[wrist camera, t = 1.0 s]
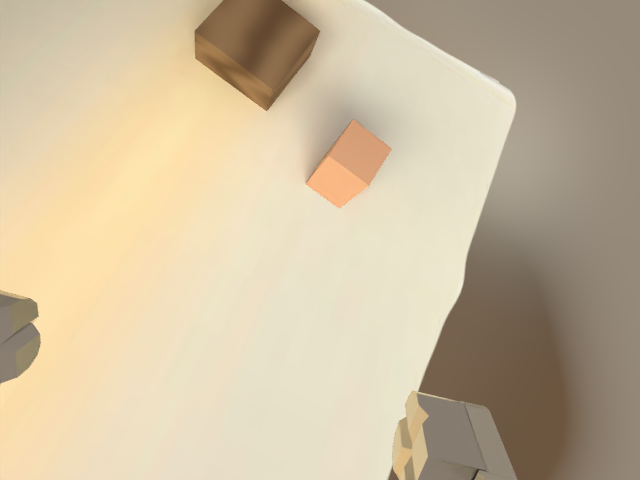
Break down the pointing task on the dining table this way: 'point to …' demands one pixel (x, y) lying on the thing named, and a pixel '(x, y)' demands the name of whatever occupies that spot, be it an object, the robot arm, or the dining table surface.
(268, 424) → the dining table surface
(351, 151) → the terracotta block
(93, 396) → the dining table surface
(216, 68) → the walnut block
